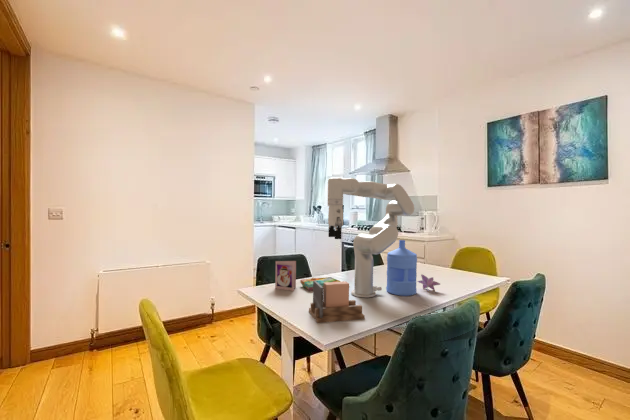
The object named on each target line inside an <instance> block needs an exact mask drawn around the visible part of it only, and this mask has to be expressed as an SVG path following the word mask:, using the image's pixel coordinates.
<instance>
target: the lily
mask: <svg viewBox="0 0 630 420" xmlns="http://www.w3.org/2000/svg"><path fill="white" fill-rule="evenodd" d="M420 277H421V280H416V283H419V284H422V289H428V288H430V289H431V290H433V291H435V290H436V289H435V286H439V285H441V282H438V281H435V280H434V277H427V276H426V275H425V274H422V273H421V274H420Z"/></svg>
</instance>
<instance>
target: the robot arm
mask: <svg viewBox="0 0 630 420" xmlns="http://www.w3.org/2000/svg"><path fill="white" fill-rule="evenodd" d="M344 195H347V196H355V197H362V198H369V199H370V198H371V199H378V200H382V201H383V200H384V201H389V202H388V203H387V204H386V206H385V215H384V218H382V219H381V220H380V221H378V222H377V223H376V224H374V225H373V226H372V227H371V228H370V229H369V232H368V233H359V234H357V235H356V236H355V237H354V239H353V242H352V243H353V251H354V252H353V253H354V289H352V290H351V291H350V292H351V293H350V294H351V296H354V297H357V298H363V299H365V298H367V299H368V298H373V297H375V296H376V295H377V293H376V292H377V291H382V286H376V285H374V256H373V255H379V254H382V253H383V252H384V251H386V250H387V249H388V248H389V247H391V246H392V245H394V244H395V242H396V241H397V240H398V237H399V230H398V228H397V227H398V225H399V222H398V217H408V216H412V215H413V214H414V212H415V204H414V202H413V200H412V199H411V197H410V196H409V194H408V193H407V191H406V190H405V188H404V187H403V186H402V185H401V184H399V183H389V184H388V183H387V184H386V183H381V182H376V181H370V180H369V181H368V180H367V181H359V180H357V179H356V178H353V177H347V178H342V177H330V178H328V180H327V207H328V217H327V222H328V237H329V238H334V239H335V240H341V239H342V231H343V230H342V229H343V228H342V227H344V209H343V206H344Z"/></svg>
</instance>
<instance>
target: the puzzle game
mask: <svg viewBox="0 0 630 420" xmlns="http://www.w3.org/2000/svg"><path fill="white" fill-rule="evenodd" d="M313 281H317V282H318V283H319V284H320V285H321V286H322V287H323V288H324V282H342V281H341V280H340V279H337V278H334V277H332V276H328V277H327V276H326V277H312V278H303V279H302V278H301V279H300V280H299V283H300V284H301V286H302V287H303V288H305V289H306V290H307V291H313Z"/></svg>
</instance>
